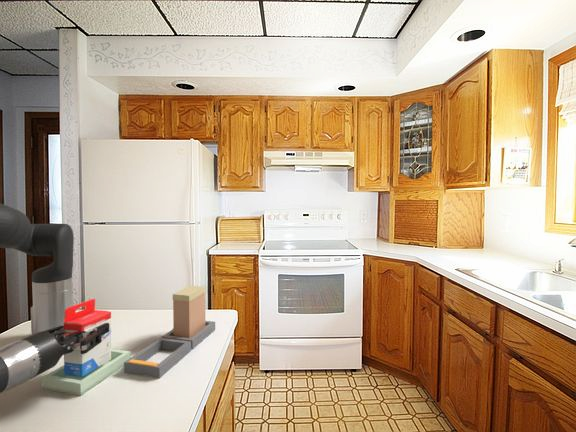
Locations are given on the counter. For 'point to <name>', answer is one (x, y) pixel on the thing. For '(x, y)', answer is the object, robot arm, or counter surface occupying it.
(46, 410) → the counter surface
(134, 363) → the grey holder frame
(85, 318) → the ink box
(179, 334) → the cartridge
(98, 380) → the tray
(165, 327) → the counter surface
